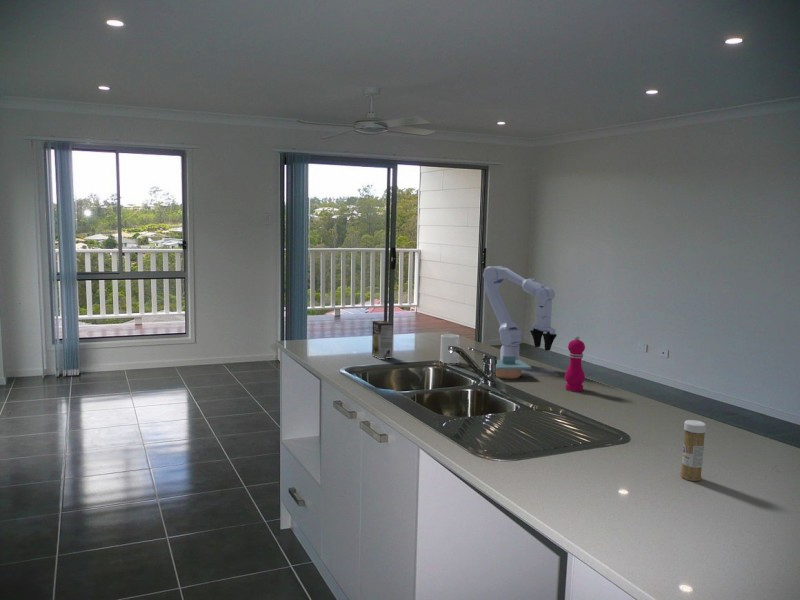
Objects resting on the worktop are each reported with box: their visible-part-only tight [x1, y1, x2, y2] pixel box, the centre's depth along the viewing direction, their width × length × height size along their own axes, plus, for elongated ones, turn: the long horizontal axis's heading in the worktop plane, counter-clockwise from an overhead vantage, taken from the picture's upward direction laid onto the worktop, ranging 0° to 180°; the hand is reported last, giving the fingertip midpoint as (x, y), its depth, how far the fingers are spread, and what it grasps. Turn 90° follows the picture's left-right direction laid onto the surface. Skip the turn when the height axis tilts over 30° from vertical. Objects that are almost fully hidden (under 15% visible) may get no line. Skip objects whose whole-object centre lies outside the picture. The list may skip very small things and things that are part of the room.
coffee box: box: [371, 320, 394, 358], centre depth 277 cm, size 9×6×16 cm
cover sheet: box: [496, 356, 532, 369], centre depth 245 cm, size 14×14×4 cm
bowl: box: [495, 369, 522, 380], centre depth 246 cm, size 10×10×4 cm
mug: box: [439, 333, 461, 364], centre depth 268 cm, size 12×8×12 cm
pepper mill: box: [564, 335, 586, 392], centre depth 227 cm, size 7×7×20 cm
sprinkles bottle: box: [680, 419, 707, 482], centre depth 144 cm, size 5×5×13 cm
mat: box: [521, 366, 561, 377], centre depth 255 cm, size 16×16×1 cm
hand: (542, 348), depth 257 cm, fingers open, 7 cm apart
